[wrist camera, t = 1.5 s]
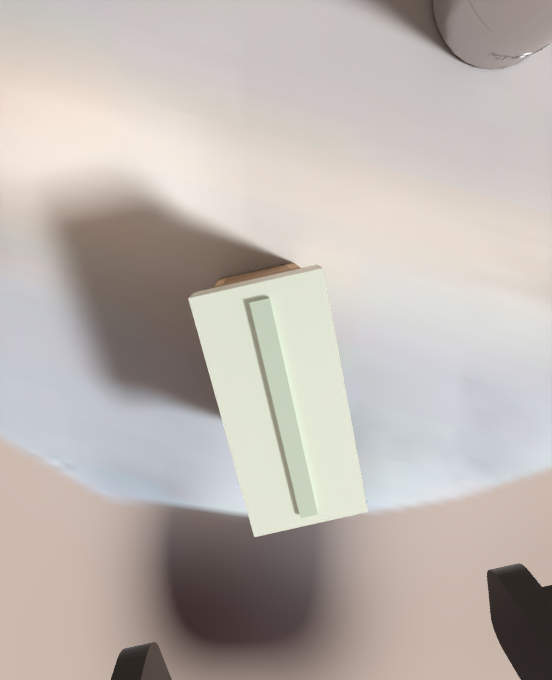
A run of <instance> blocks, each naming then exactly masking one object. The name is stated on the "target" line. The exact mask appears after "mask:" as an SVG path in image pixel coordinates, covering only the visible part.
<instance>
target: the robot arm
mask: <svg viewBox="0 0 552 680" xmlns="http://www.w3.org/2000/svg"><path fill="white" fill-rule="evenodd" d="M433 11H434V16H435V20H436V23H437V27H438V30H439V32H440V34H441V36H442V38H443V40H444V42H445V43H446V44H447V46H448V47H449V48H450V49H451V50H452V52H453V53H454V54H455V55H457V56H458V57H459V58H461V59H462V60H463V61H465V62H466V63H469V64H471V65H474V66H476V67H480V68H487V69H497V68H505V67H508V66H511V65H514V64H517V63H519V62H520V61H522V60H524V59H525V58H527V57H529V56H530V55H532V54H534V53H536V52H538V51H539V50H541V49H543V48H545V47H546V46H548V45H549V44H550V43H552V0H433ZM487 580H488V591H489V601H490V612H491V620H492V624H493V627H494V630H495V633H496V636H497V638H498V640H499V643H500V645H501V647H502V648H503V650H504V652H505V654H506V655H507V657H508V659H509V660H510V662H511V664H512V666H513V667H514V669H515V671H516V672H517V674H518V676H519V677H520V679H521V680H552V585H550V586H545V587H541V585H540V584H539V583H538V582H537V580H536V579H535V578H534V577H533V576H532V575H531V573H530V572H529V571H528V570H527V568H525V567H524V566H523V565H522V564H514V565H510V566H505V567H501V568H496V569H491V570H488V572H487ZM111 680H171V677H170V674H169V672H168V669H167V667H166V664H165V662H164V659H163V657H162V654H161V651H160V649H159V646H158V645H157V643H155V642H153V643H148V644H144V645H139V646H135V647H130V648H125V649H123V650H122V651H121V653H120V654H119V657H118V659H117V662H116V665H115V668H114V672H113V674H112V678H111Z"/></svg>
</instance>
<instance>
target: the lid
mask: <svg viewBox="0 0 552 680" xmlns="http://www.w3.org/2000/svg"><path fill="white" fill-rule="evenodd" d="M188 299H189V303H190V307H191V310H192V314H193V318H194V321H195V325H196V328H197V332H198V336H199V339H200V343H201V346H202V350H203V354H204V357H205V361H206V364H207V368H208V372H209V375H210V379H211V382H212V386H213V390H214V393H215V397H216V400H217V404H218V408H219V411H220V415H221V418H222V422H223V426H224V429H225V433H226V436H227V440H228V444H229V447H230V451H231V454H232V458H233V462H234V465H235V469H236V472H237V476H238V480H239V483H240V487H241V490H242V494H243V498H244V501H245V505H246V508H247V512H248V516H249V519H250V523H251V526H252V530H253V533H254V537H257V536H261V535H266V534H270V533H275V532H279V531H284V530H288V529H293V528H297V527H302V526H306V525H311V524H315V523H320V522H324V521H329V520H333V519H338V518H342V517H347V516H351V515H356V514H360V513H365V512H368V510H367V504H366V499H365V493H364V488H363V482H362V477H361V471H360V466H359V461H358V455H357V450H356V444H355V439H354V433H353V428H352V422H351V417H350V411H349V406H348V401H347V395H346V390H345V384H344V379H343V373H342V368H341V362H340V357H339V352H338V346H337V341H336V335H335V330H334V324H333V319H332V313H331V308H330V302H329V297H328V292H327V286H326V281H325V275H324V270H323V268H322V267H320V266H318V265H314V266H309V267H305V268H300V269H296V270H291V271H287V272H283V273H278V274H274V275H269V276H265V277H260V278H256V279H251V280H247V281H243V282H238V283H234V284H229V285H225V286H220V287H216V288H211V289H207V290H202V291H198V292H194V293H193V294H192V295H191V296H190V297H189V298H188Z"/></svg>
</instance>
